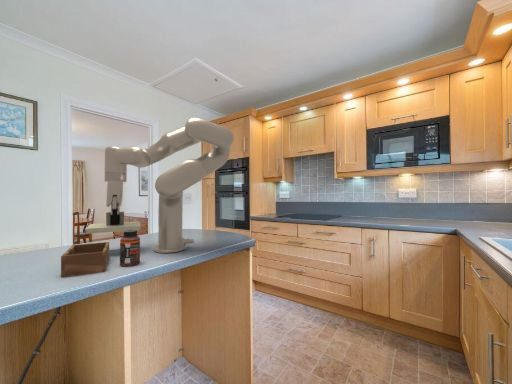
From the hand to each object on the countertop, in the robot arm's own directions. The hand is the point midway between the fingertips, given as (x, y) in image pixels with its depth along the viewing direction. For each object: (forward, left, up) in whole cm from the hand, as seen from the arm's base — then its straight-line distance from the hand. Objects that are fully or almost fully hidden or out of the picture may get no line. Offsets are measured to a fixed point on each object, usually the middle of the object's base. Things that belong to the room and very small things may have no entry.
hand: (115, 223), depth 93 cm
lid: (0, 0, -2) cm, 2 cm away
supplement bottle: (-5, +19, -12) cm, 23 cm away
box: (+7, +16, -11) cm, 21 cm away
